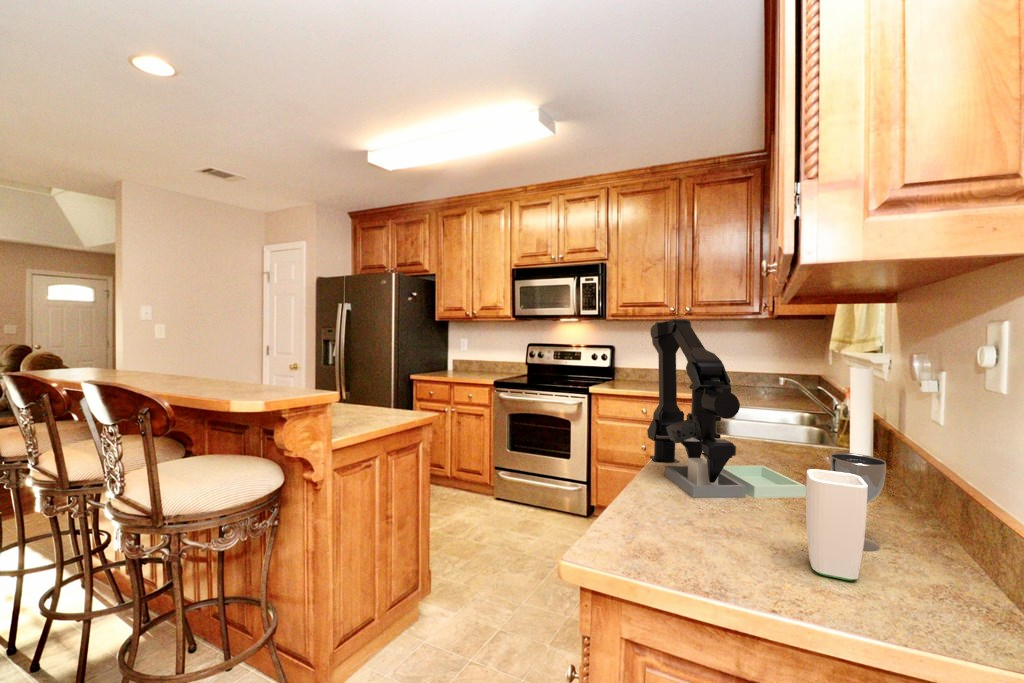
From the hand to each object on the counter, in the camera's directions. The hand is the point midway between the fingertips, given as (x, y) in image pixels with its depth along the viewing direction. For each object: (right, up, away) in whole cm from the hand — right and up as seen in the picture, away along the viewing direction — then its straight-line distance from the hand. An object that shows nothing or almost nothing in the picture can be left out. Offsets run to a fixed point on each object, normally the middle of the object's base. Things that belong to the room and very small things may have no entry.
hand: (702, 476), depth 113 cm
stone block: (0, -2, 0) cm, 2 cm away
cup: (+5, -4, -39) cm, 39 cm away
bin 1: (0, -3, 0) cm, 3 cm away
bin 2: (+14, -3, +1) cm, 14 cm away
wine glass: (+16, -4, -28) cm, 32 cm away
